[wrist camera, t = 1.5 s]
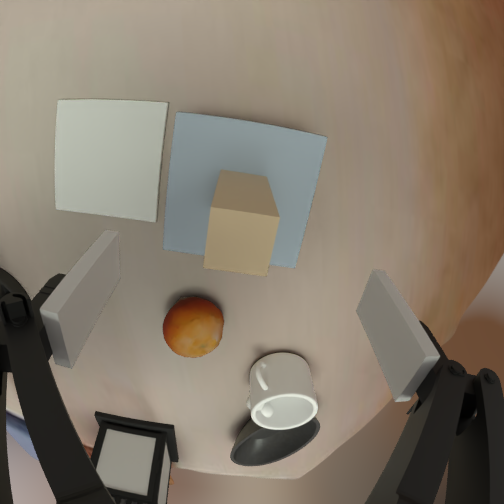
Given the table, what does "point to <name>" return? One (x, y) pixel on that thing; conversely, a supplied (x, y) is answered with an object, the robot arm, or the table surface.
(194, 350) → the fruit
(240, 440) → the bowl
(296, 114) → the table surface
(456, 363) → the robot arm
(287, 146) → the lid
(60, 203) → the mat
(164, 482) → the lantern
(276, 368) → the mug
